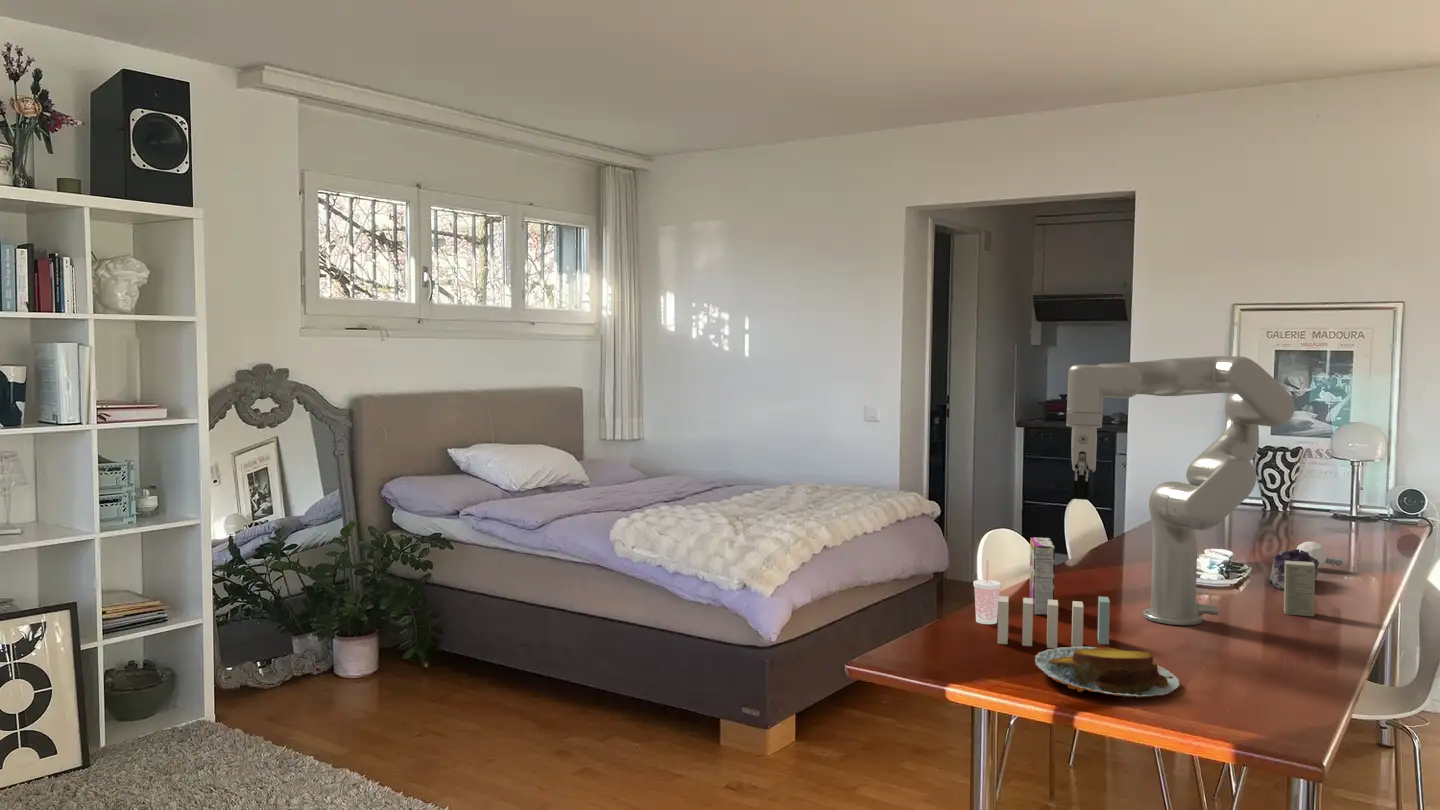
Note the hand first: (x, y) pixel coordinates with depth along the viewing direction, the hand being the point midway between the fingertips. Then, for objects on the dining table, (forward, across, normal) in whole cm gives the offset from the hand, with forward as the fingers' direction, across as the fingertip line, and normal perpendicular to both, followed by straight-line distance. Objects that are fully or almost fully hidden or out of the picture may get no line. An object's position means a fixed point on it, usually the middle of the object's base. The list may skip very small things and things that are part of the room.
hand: (1081, 496), depth 237 cm
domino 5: (+29, -12, -6) cm, 32 cm away
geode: (+28, +63, -53) cm, 87 cm away
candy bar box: (+29, +11, +8) cm, 32 cm away
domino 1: (+30, -19, +14) cm, 38 cm away
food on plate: (+30, -40, -6) cm, 50 cm away
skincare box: (+28, +29, -49) cm, 63 cm away
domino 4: (+29, -18, -1) cm, 35 cm away
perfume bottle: (+27, +86, -62) cm, 109 cm away
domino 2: (+29, -19, +9) cm, 36 cm away
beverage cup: (+30, -4, +19) cm, 36 cm away
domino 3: (+29, -19, +4) cm, 35 cm away
